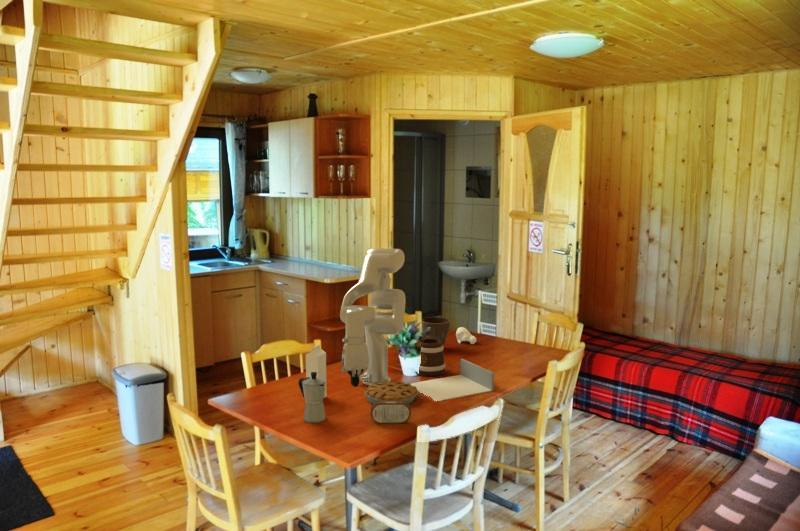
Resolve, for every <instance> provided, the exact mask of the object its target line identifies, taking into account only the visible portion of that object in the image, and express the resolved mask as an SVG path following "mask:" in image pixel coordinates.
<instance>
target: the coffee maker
mask: <svg viewBox="0 0 800 531" xmlns="http://www.w3.org/2000/svg"><path fill="white" fill-rule="evenodd" d="M316 375H317V372H311V377H312V378H310V377H307V378H306V377H301V378H299V380H298V387H299V390H300V392H301V394H302V397H303V398H304V399H305V405H304V414H303V421H304V422H306V423H309V424H317V423H318V424H319V423H321V422H324V421H326V419H327V418H326V412H325V405H324V400H323V399H325V398H324V392H325V384H326V385H327V380H326V381H325V380H323V379H319V378H316Z"/></svg>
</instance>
